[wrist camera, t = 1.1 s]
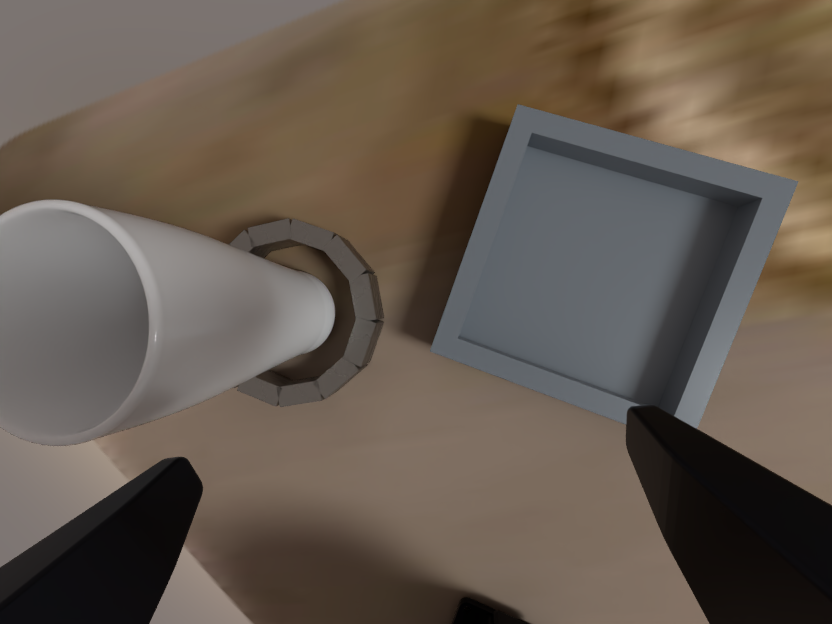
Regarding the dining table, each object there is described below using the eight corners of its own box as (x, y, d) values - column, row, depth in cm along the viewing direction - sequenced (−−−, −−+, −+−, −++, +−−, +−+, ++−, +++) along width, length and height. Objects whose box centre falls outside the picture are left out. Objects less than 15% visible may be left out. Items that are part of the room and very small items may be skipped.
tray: (664, 431, 22) (689, 447, 19) (434, 346, 24) (429, 351, 21) (759, 196, 21) (798, 181, 18) (512, 126, 23) (517, 104, 20)
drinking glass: (291, 239, 25) (25, 142, 10) (370, 304, 24) (210, 303, 9) (231, 320, 26) (-99, 341, 11) (307, 385, 25) (65, 504, 10)
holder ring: (349, 422, 25) (338, 432, 23) (201, 361, 26) (179, 366, 24) (405, 259, 24) (399, 255, 22) (250, 206, 25) (231, 197, 23)
